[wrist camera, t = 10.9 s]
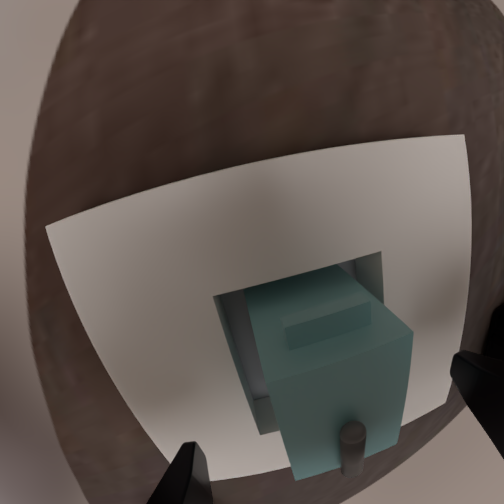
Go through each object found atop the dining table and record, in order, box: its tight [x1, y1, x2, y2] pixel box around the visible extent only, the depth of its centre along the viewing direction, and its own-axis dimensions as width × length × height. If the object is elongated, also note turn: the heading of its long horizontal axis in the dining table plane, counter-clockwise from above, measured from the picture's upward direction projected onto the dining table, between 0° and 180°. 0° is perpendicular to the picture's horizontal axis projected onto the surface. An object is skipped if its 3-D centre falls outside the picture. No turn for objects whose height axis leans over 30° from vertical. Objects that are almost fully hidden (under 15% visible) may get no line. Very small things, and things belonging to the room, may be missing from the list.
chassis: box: [45, 135, 472, 481], centre depth 12 cm, size 16×15×3 cm
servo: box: [243, 264, 414, 481], centre depth 10 cm, size 4×7×7 cm, turn 13°
